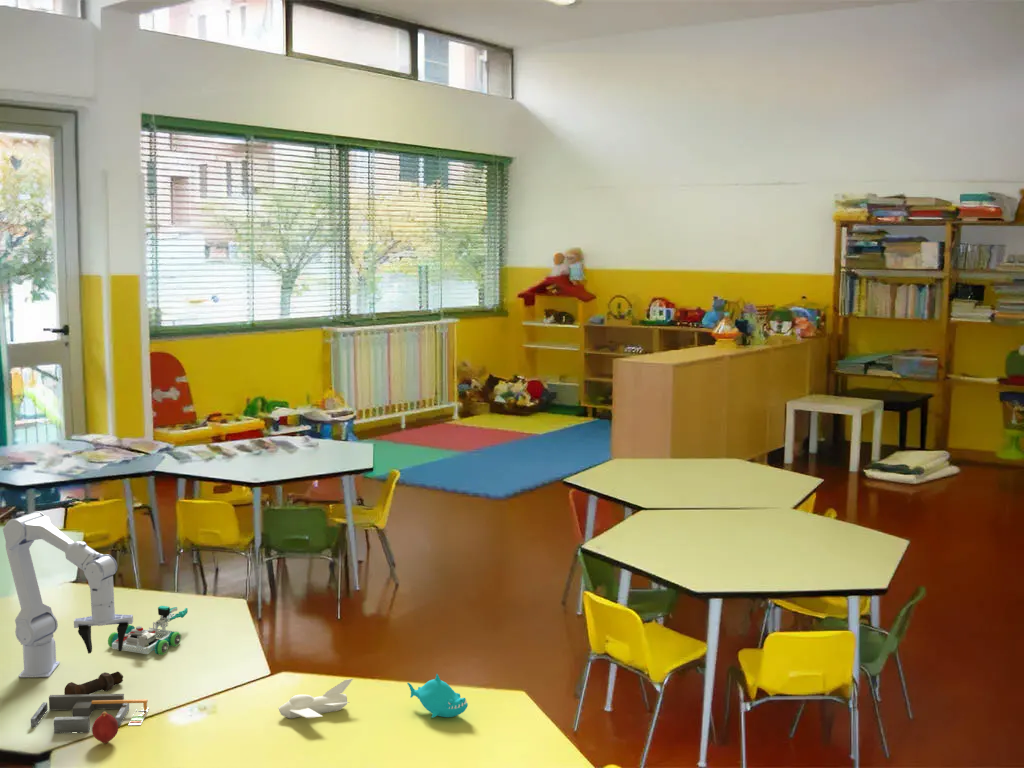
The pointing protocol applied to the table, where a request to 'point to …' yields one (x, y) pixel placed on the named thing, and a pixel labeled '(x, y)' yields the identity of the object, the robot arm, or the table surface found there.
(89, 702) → the grey bar with rod
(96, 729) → the onion
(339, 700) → the airplane model
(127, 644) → the robot kit
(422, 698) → the toy shark
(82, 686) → the bolt
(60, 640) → the table surface
